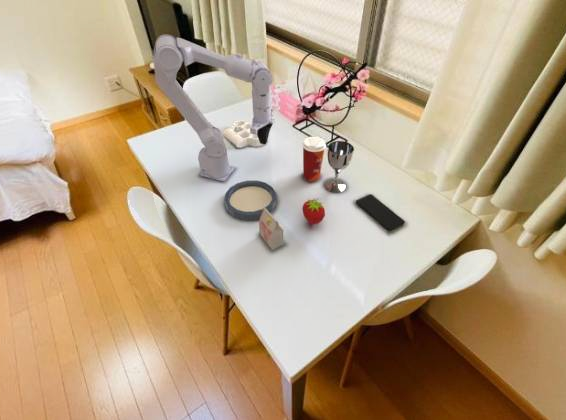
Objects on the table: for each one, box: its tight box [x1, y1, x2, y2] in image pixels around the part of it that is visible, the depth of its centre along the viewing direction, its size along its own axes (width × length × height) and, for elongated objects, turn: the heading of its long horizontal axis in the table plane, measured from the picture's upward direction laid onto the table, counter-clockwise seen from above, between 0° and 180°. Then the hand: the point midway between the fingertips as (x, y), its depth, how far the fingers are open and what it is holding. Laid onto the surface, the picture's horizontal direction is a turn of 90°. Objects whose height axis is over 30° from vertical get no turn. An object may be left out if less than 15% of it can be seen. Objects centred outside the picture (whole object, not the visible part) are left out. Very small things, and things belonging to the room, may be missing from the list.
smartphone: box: [355, 194, 406, 232], centre depth 94 cm, size 7×1×15 cm
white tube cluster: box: [221, 119, 264, 149], centre depth 124 cm, size 3×18×15 cm
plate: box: [223, 179, 277, 221], centre depth 96 cm, size 16×16×3 cm
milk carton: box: [258, 207, 284, 251], centre depth 82 cm, size 4×7×10 cm, turn 33°
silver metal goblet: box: [324, 140, 355, 194], centre depth 98 cm, size 8×8×15 cm
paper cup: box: [301, 136, 327, 182], centre depth 102 cm, size 8×8×14 cm
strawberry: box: [301, 198, 326, 226], centre depth 87 cm, size 6×8×10 cm
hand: (263, 143), depth 105 cm, fingers closed
